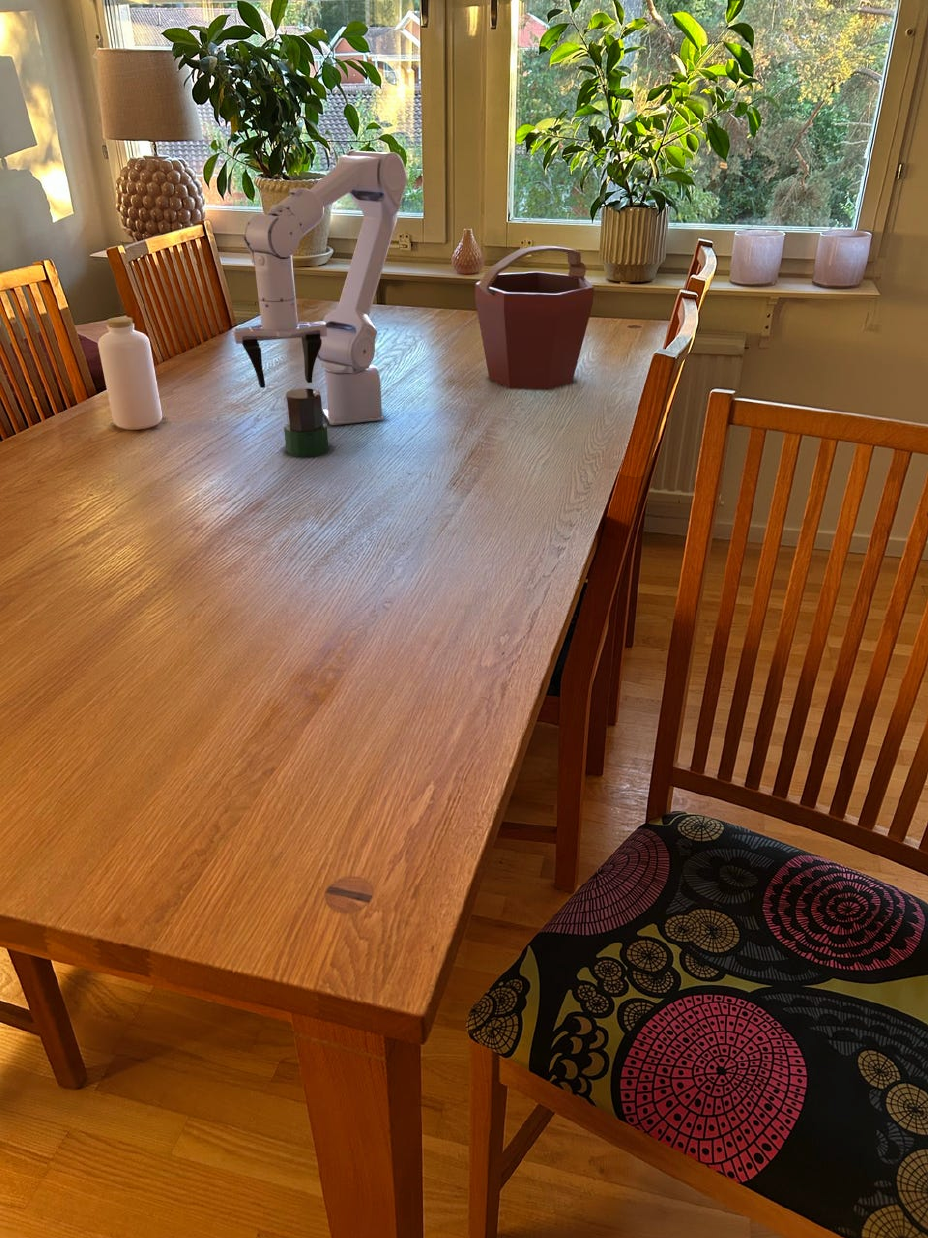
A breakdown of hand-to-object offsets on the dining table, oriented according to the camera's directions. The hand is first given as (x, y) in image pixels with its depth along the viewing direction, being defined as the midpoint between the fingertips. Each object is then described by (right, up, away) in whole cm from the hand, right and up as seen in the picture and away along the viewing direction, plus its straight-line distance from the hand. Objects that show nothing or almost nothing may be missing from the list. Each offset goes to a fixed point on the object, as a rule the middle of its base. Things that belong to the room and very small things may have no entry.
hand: (285, 383), depth 152 cm
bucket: (+44, +10, +36) cm, 57 cm away
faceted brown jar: (+4, -7, -1) cm, 8 cm away
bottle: (+4, -11, +1) cm, 11 cm away
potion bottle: (-28, -4, +12) cm, 31 cm away
